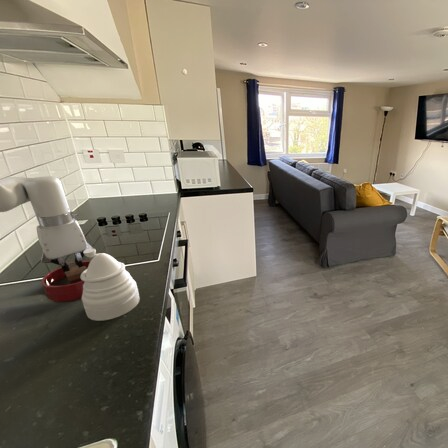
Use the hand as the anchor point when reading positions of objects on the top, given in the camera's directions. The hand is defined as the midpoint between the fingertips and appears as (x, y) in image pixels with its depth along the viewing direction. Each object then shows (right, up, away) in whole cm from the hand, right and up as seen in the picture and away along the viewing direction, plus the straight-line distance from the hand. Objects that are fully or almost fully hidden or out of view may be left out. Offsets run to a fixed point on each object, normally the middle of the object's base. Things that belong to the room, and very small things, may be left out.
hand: (74, 272), depth 84 cm
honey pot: (+18, -8, -8) cm, 22 cm away
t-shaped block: (+2, -1, -1) cm, 2 cm away
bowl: (+2, -5, 0) cm, 5 cm away
